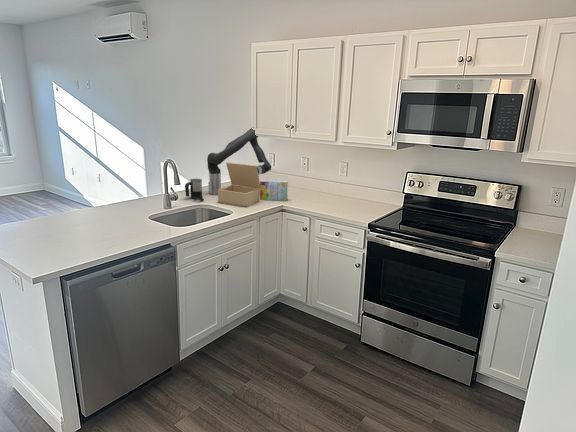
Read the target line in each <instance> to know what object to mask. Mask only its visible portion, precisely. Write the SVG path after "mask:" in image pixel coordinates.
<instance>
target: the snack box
mask: <svg viewBox="0 0 576 432" xmlns="http://www.w3.org/2000/svg"><path fill="white" fill-rule="evenodd" d="M259 181H260V186H261V188H259V189H260V200H261V201H262V200H264V201H279V202H281V201H283V202H284V201H285V202H286V201H288V190H289V189H288V186H289V184H288V182H289V181H288V180H270V179H261V180H259Z"/></svg>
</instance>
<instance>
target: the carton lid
mask: <svg viewBox="0 0 576 432" xmlns="http://www.w3.org/2000/svg"><path fill="white" fill-rule="evenodd" d="M225 165H226V168H227V172H228V176H229V179H230V183H231V185H235V186H243V187H250V188H257V189H260V188H261V186H260V181H261V180H260V178H259V176H260V175H258V172H257V167H256V166H257V165H254V164H246V163H240V162H239V163H236V162H226V164H225Z"/></svg>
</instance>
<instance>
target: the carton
mask: <svg viewBox="0 0 576 432" xmlns="http://www.w3.org/2000/svg"><path fill="white" fill-rule="evenodd" d="M217 202H218V203H219V204H224V205H231V206H235V207H236V206H237V207H245V208H249V207H251V206H253V205H255V204H258V203H260V188H252V187H245V186H238V185H232V184H231V185H228V186H226V187H221V189H219V190H218V195H217Z"/></svg>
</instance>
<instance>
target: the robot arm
mask: <svg viewBox="0 0 576 432" xmlns="http://www.w3.org/2000/svg"><path fill="white" fill-rule="evenodd" d="M252 128H253V127H251V128H249V129H248V130H247V131H246V132H245V133H243V134H241V135H240V136H238V137H236V138H235V139H234V140H232V141H231V142H228V144H227V145H226V146H225V148H224V149H223V150H221V151H219V152H217V153H215V152H210V153H209V154H208V155H207V157H206V158H207V159H206V160H207V169H208V177H209V178H208V180H209V181H208V183H207V185H208V194H209V195H212V196H213V195H214V196H218V190H219V189H222V179H221V177H222V176H221V174H222V173H221V168H220V167H219V165H221V164H222V163H223V162H225V161H226V160H227V159H228V158H229V157H231V156H233V155H235V154H236V153H237V152H239V151H240V150H242V149H243V148H244V147H245V146H246V145H247V144H248V143H250V145H251V147H252V149H253V152H254V154H255V156H256V159H257V161H258V163H259V164H260V165H259V164H258V165H256V167H257V172H258V176H260V175H264V174H266V173H268V172H269V171H271V170H272V165H271V163H270V162H269V161H268V159H267V157H266V155H265V152H264V150H263V149H262V147H261V146H260V145H259V142H258V138H259V136H256V135H255V130H253V129H252ZM262 163H263V164H262Z"/></svg>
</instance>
